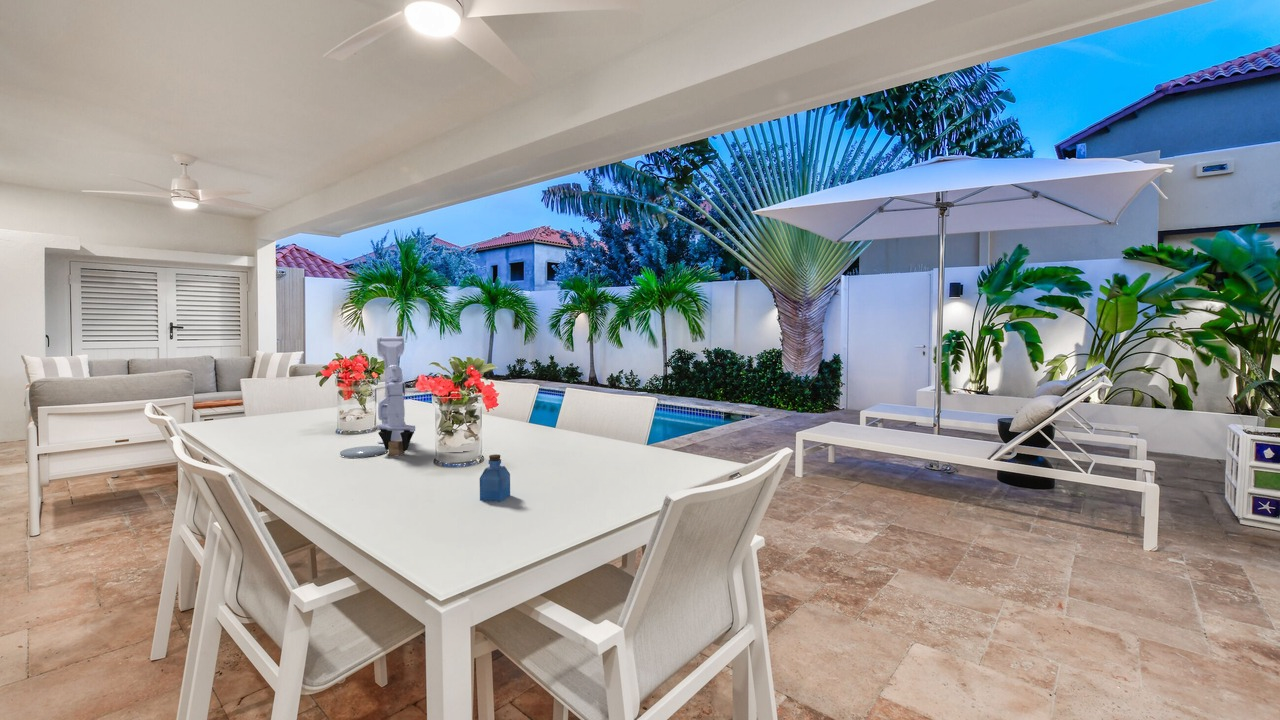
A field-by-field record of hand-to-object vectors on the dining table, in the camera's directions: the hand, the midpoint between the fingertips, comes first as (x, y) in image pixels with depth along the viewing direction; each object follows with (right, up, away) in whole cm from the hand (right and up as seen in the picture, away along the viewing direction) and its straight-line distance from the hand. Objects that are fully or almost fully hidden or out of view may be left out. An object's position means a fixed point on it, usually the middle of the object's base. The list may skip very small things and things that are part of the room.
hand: (396, 449), depth 209 cm
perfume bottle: (+50, -5, -52) cm, 72 cm away
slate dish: (-13, -2, +2) cm, 13 cm away
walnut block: (0, -2, 0) cm, 2 cm away
